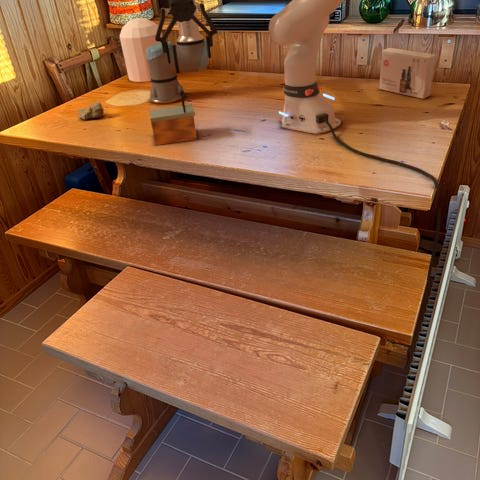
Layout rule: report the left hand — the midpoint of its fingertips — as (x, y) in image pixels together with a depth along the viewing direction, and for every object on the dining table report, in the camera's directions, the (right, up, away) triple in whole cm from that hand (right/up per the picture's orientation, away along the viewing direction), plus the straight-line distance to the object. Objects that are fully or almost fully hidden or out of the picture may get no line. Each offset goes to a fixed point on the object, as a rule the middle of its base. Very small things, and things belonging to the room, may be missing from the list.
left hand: (189, 60), depth 155 cm
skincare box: (+84, 0, +34) cm, 90 cm away
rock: (-46, -8, +42) cm, 63 cm away
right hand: (+11, +28, +9) cm, 31 cm away
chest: (-7, -23, +15) cm, 28 cm away
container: (-31, +26, +89) cm, 97 cm away
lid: (-7, -16, +10) cm, 20 cm away
